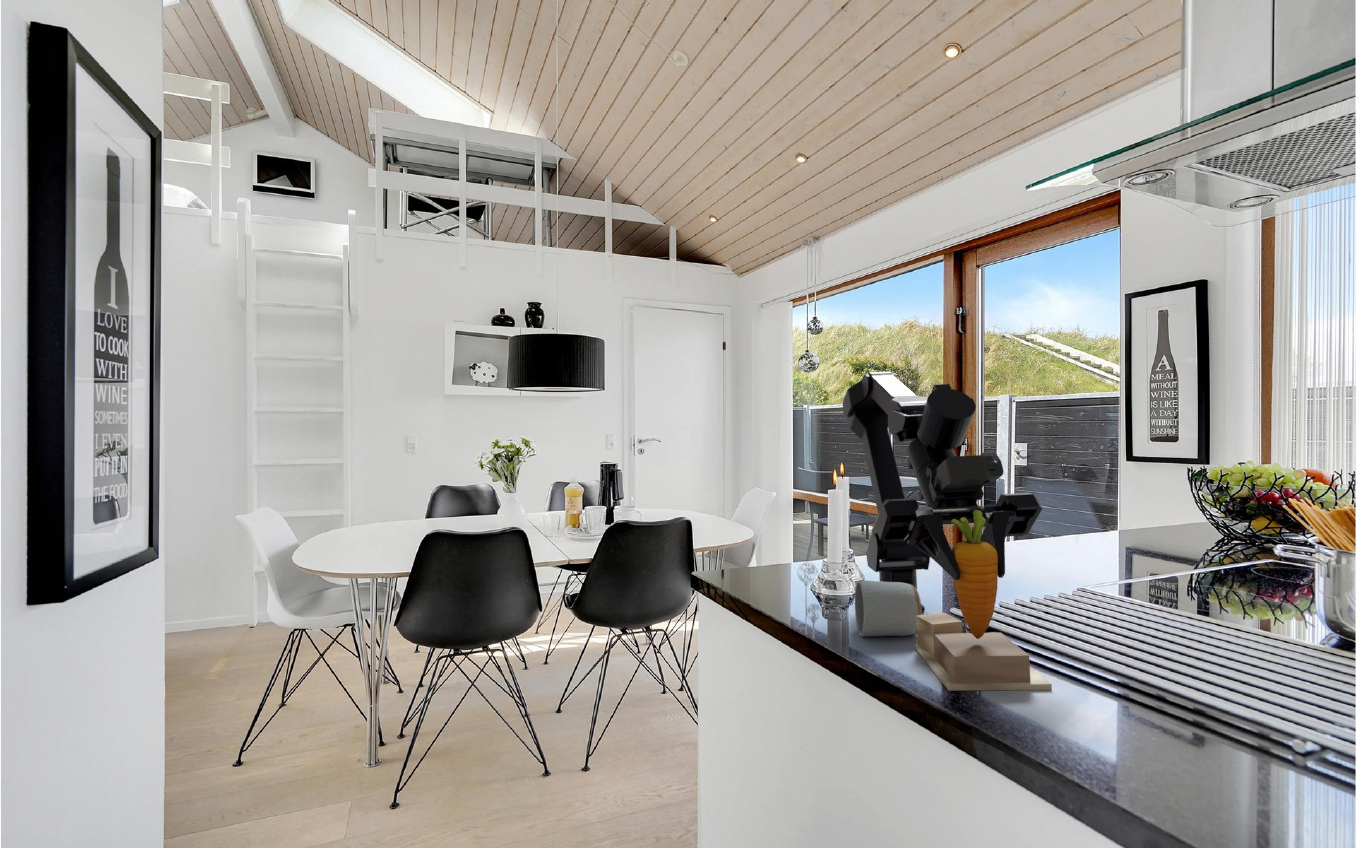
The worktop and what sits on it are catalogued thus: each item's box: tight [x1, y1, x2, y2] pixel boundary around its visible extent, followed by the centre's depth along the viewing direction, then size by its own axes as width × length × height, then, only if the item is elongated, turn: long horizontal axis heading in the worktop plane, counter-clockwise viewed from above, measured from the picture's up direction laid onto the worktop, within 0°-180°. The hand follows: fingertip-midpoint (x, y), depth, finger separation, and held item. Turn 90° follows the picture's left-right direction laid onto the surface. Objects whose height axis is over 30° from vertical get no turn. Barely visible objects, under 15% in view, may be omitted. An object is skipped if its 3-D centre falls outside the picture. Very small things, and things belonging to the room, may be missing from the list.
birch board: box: [914, 643, 1053, 692], centre depth 80 cm, size 14×11×1 cm
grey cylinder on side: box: [854, 579, 923, 637], centre depth 95 cm, size 11×8×8 cm
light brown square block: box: [934, 632, 1031, 683], centre depth 78 cm, size 8×8×3 cm
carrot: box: [951, 510, 999, 639], centre depth 78 cm, size 5×5×15 cm
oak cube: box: [916, 612, 964, 656], centre depth 85 cm, size 4×4×4 cm
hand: (979, 577), depth 77 cm, fingers closed on carrot, 5 cm apart
